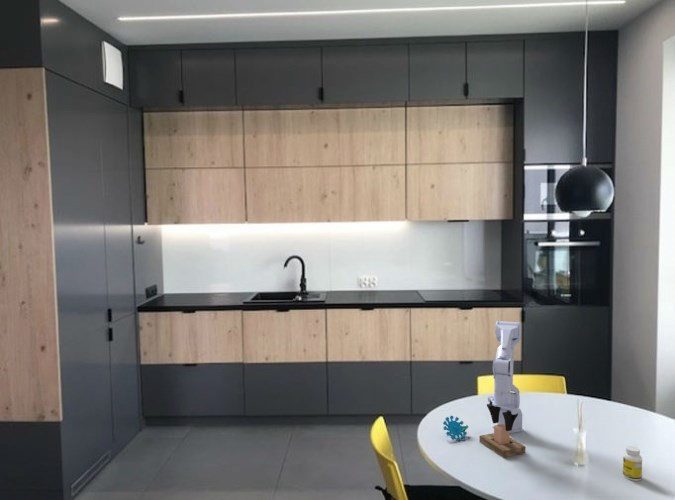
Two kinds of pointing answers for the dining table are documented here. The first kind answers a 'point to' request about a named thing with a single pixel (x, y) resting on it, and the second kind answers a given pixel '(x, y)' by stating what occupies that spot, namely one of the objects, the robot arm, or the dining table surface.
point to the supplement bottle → (632, 464)
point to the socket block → (502, 446)
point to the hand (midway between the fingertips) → (502, 426)
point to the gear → (455, 428)
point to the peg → (501, 435)
